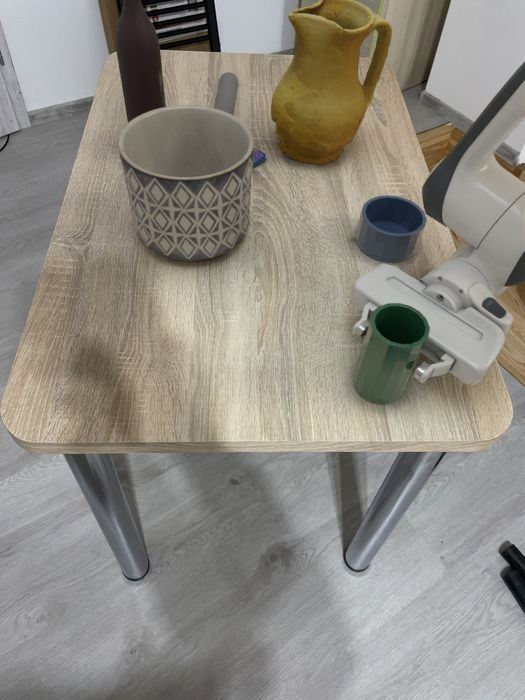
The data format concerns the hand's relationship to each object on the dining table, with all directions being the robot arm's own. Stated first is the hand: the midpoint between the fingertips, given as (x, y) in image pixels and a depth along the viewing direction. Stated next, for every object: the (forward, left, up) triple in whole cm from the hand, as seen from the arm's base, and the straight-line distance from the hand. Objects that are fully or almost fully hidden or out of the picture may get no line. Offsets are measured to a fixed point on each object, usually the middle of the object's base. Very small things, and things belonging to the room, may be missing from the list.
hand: (386, 354), depth 66 cm
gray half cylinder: (+45, -63, -7) cm, 77 cm away
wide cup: (+4, -30, -7) cm, 31 cm away
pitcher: (+22, -53, -7) cm, 57 cm away
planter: (+35, -21, -7) cm, 41 cm away
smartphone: (+36, -40, -7) cm, 54 cm away
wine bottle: (+51, -39, -7) cm, 64 cm away
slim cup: (0, -1, -7) cm, 7 cm away
